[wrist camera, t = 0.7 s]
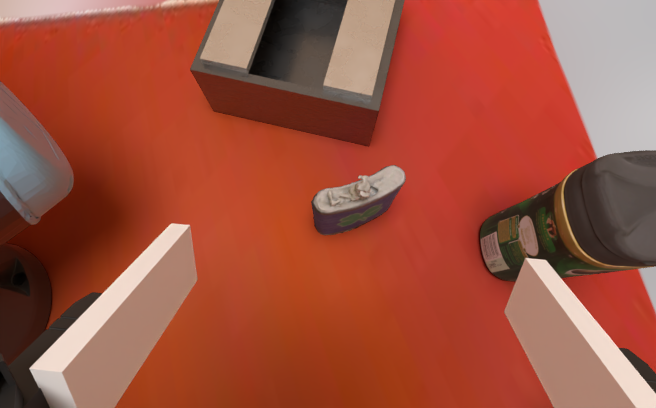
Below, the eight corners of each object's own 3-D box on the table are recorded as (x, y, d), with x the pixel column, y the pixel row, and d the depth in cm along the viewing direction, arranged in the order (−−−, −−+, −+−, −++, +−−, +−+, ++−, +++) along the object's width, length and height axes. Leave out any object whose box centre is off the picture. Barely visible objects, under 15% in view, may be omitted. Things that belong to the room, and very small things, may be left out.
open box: (213, 111, 43) (187, 64, 35) (260, -10, 49) (247, -75, 40) (369, 146, 42) (379, 106, 34) (398, 18, 48) (414, -43, 39)
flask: (384, 190, 41) (404, 152, 30) (394, 213, 40) (418, 181, 30) (311, 218, 40) (306, 188, 29) (320, 241, 39) (318, 219, 28)
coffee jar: (552, 210, 40) (734, 133, 22) (570, 279, 38) (788, 256, 20) (470, 214, 40) (587, 141, 22) (483, 284, 38) (625, 266, 20)
